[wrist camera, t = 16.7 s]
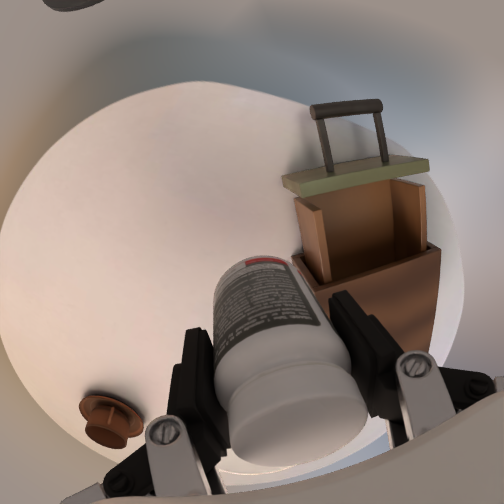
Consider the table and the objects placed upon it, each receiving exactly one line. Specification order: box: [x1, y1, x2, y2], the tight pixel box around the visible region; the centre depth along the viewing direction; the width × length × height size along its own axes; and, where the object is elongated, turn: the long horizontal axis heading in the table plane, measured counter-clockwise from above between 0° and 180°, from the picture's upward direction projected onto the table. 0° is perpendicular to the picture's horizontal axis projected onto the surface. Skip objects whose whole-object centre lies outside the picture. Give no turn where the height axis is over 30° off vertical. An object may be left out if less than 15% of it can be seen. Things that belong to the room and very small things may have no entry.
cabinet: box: [291, 241, 441, 353], centre depth 31 cm, size 16×15×9 cm
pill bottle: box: [213, 256, 368, 467], centre depth 10 cm, size 5×5×8 cm
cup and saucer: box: [79, 396, 144, 449], centre depth 36 cm, size 12×12×6 cm
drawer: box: [281, 99, 430, 286], centre depth 26 cm, size 21×13×7 cm, turn 14°
